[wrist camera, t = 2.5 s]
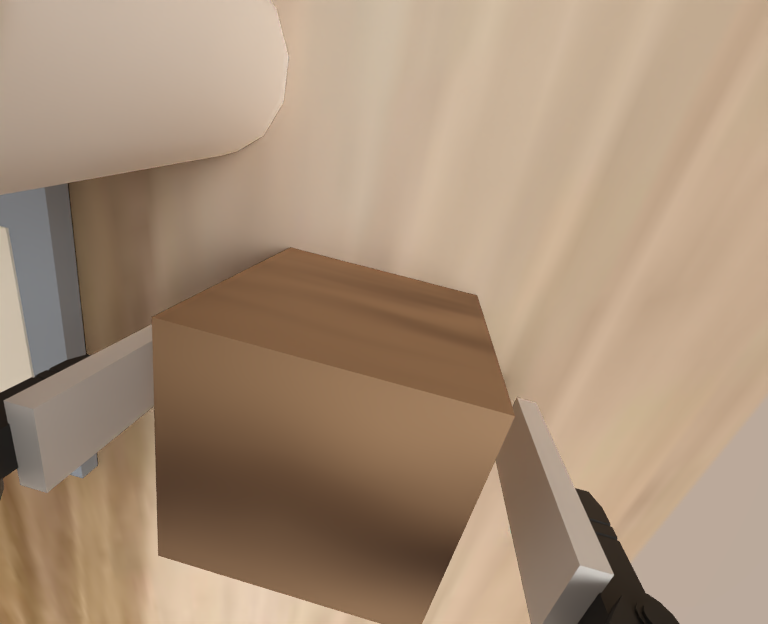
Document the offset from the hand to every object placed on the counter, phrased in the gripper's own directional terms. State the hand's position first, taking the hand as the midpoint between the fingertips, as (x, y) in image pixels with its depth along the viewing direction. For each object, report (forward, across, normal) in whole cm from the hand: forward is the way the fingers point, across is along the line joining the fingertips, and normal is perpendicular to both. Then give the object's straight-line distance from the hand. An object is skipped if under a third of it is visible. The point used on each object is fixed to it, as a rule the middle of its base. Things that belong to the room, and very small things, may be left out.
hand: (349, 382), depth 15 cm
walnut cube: (+2, 0, 0) cm, 2 cm away
